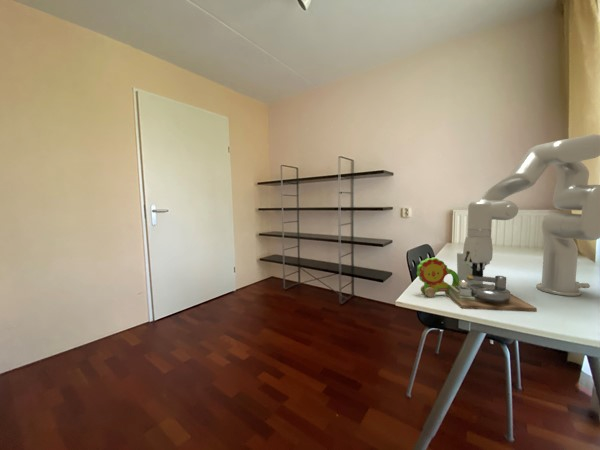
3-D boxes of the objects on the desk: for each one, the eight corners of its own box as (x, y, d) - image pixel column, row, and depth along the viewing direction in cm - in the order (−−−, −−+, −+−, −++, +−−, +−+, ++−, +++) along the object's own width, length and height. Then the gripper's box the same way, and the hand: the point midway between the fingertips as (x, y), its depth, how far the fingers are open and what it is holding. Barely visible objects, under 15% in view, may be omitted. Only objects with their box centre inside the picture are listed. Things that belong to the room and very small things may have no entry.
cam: (487, 290, 100) (488, 271, 100) (519, 303, 87) (520, 281, 87) (459, 292, 99) (460, 273, 98) (488, 305, 86) (488, 283, 85)
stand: (507, 295, 99) (508, 283, 99) (536, 311, 85) (537, 298, 84) (444, 293, 103) (445, 282, 103) (461, 308, 89) (462, 295, 88)
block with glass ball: (466, 294, 97) (466, 278, 96) (471, 298, 93) (472, 281, 92) (454, 294, 98) (455, 278, 97) (459, 298, 94) (460, 281, 93)
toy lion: (453, 293, 103) (454, 256, 103) (461, 297, 98) (462, 259, 97) (414, 293, 104) (415, 256, 103) (420, 297, 99) (420, 258, 98)
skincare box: (483, 286, 110) (484, 253, 109) (476, 289, 107) (478, 254, 105) (462, 281, 117) (463, 250, 116) (455, 284, 114) (456, 251, 112)
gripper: (484, 231, 103) (482, 275, 105) (455, 233, 99) (454, 279, 101) (503, 233, 96) (501, 280, 97) (473, 235, 92) (471, 284, 93)
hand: (477, 279), depth 99 cm, fingers closed
